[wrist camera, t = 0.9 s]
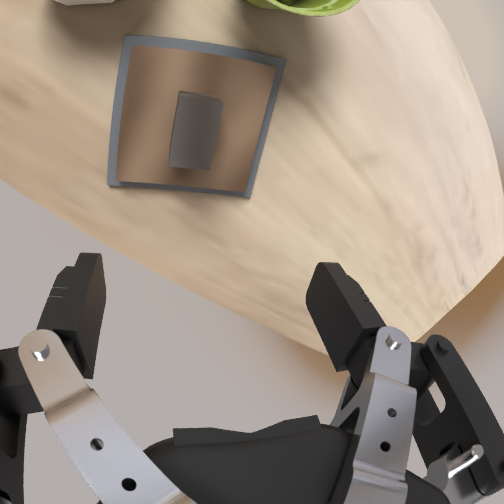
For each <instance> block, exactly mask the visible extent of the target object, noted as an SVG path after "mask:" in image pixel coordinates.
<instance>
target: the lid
mask: <svg viewBox="0 0 504 504" xmlns="http://www.w3.org/2000/svg"><path fill="white" fill-rule="evenodd" d="M276 69H277V68H276V67H272V66H268V65H264V64H260V63H256V62H251V61H247V60H242V59H237V58H232V57H227V56H221V55H215V54H209V53H203V52H196V51H188V50H180V49H171V48H161V47H148V46H132V50H131V56H130V61H129V66H128V72H127V78H126V84H125V91H124V98H123V105H122V113H121V121H120V131H119V141H118V153H117V167H116V181H126V182H141V183H154V184H167V185H178V186H189V187H199V188H209V189H219V190H228V191H237V192H245V190H246V186H247V182H248V178H249V174H250V170H251V166H252V162H253V158H254V154H255V150H256V146H257V142H258V138H259V134H260V130H261V126H262V122H263V118H264V114H265V111H266V107H267V103H268V99H269V95H270V92H271V88H272V84H273V80H274V77H275V73H276Z"/></svg>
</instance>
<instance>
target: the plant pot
mask: <svg viewBox="0 0 504 504" xmlns="http://www.w3.org/2000/svg"><path fill="white" fill-rule="evenodd" d="M247 1H248V2H249V3H251V4H253V5H255V6H257V7H260V8H264V9H282V10H285V11H288V12H291V13H294V14H298V15H304V16H314V17H321V16H331V15H335V14H338V13H341V12H344V11H346V10H348V9H350V8H351V7H353V6H354V5H355V4H357V3H358V2H359V1H360V0H247Z"/></svg>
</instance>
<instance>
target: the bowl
mask: <svg viewBox="0 0 504 504" xmlns="http://www.w3.org/2000/svg"><path fill="white" fill-rule="evenodd" d="M54 1H57V2H60V3H62V4H65V5H77V4H95V3H112V2H113V1H115V0H54Z"/></svg>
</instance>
